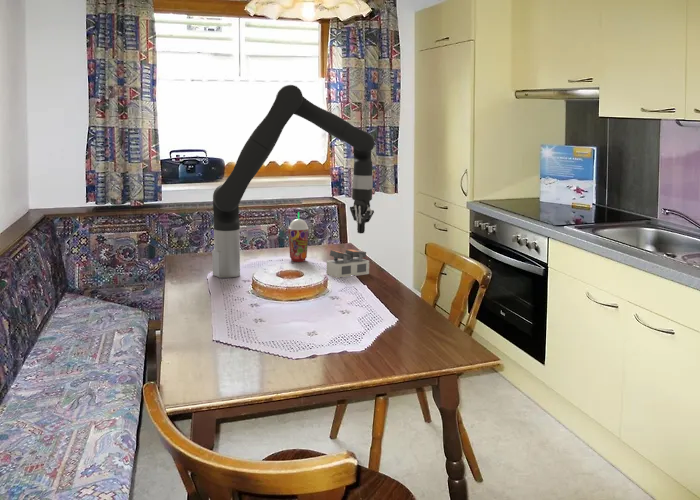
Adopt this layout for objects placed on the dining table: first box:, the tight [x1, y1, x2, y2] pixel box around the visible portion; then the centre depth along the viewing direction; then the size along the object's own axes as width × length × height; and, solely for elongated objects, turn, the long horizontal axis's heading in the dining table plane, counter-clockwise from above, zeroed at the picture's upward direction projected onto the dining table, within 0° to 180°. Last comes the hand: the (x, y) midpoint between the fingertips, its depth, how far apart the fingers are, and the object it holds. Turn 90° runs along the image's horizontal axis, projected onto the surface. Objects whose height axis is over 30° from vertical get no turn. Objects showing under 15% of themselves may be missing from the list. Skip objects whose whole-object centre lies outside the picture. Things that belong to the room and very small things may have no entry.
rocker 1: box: [329, 249, 351, 260], centre depth 254 cm, size 6×5×2 cm
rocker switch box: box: [325, 254, 370, 279], centre depth 257 cm, size 14×8×8 cm, turn 125°
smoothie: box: [287, 211, 310, 263], centre depth 278 cm, size 8×8×20 cm
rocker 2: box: [345, 249, 367, 258], centre depth 258 cm, size 6×5×2 cm
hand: (360, 233), depth 258 cm, fingers closed
